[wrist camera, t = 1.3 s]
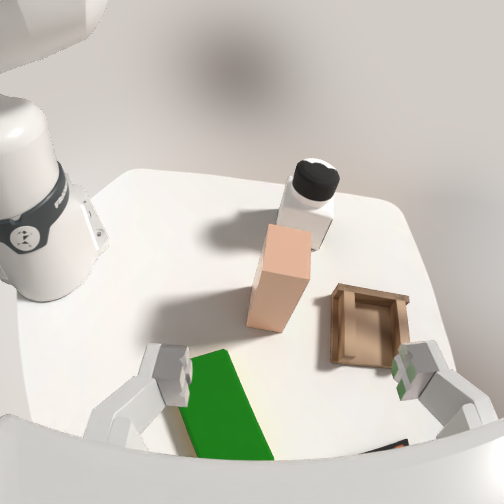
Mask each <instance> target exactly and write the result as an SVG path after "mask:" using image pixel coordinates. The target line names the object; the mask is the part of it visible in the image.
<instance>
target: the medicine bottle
mask: <svg viewBox="0 0 504 504" xmlns="http://www.w3.org/2000/svg"><path fill="white" fill-rule="evenodd" d="M339 180H340V178H339V175H338V172H337V171H336V169H335V168H334V167H332V165H330V164H329V163H327V162H325V161H322V160H319V159H314V158H310V159H304V160H302V161H300V162H299V163H298V164H297V166H296V170H295V173H294V176H288V179H287V182H286V186H285V189H284V193H283V197H282V200H281V204H280V207H279V212H278V217H277V222H276V225H279V226H284V227H289V228H293V229H298V230H303V231H308V232H311V249H315V250H319V248H320V246H321V244H322V242H323V240H324V238H325V235H326V233H327V231H328V229H329V227H330V224H331V222H332V220H333V204H334V193H335V190H336V188H337V185H338V183H339Z"/></svg>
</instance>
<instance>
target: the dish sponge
mask: <svg viewBox="0 0 504 504" xmlns="http://www.w3.org/2000/svg"><path fill="white" fill-rule="evenodd" d="M191 361H192V369H193V370H192V381H191V384H190V385H189V386H188V388H189V399H188V405H187V407H179V406H178V407H179V410H180V412H181V415H182V418H183V421H184V423H185V426H186V429H187V431H188V434H189V436H190V439H191V442H192V444H193V447H194V449H195V452H196V454H197V456H198V458H207V459H222V460H248V461H274V457H273V455H272V453H271V450H270V448H269V446H268V444H267V442H266V440H265V437H264V435H263V433H262V431H261V429H260V426H259V424H258V422H257V420H256V417H255V415H254V413H253V411H252V408H251V406H250V404H249V401H248V399H247V397H246V394H245V392H244V390H243V387H242V385H241V383H240V380H239V378H238V376H237V373H236V371H235V368H234V366H233V363H232V361H231V359H230V356H229V354H228V351H227V350H225V349H221V350H218V351H215V352H211V353H208V354H205V355H201V356H198V357H194V358H191Z"/></svg>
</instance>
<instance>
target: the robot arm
mask: <svg viewBox="0 0 504 504" xmlns="http://www.w3.org/2000/svg"><path fill="white" fill-rule="evenodd" d="M107 3H108V0H0V74H1V73H3V72H6V71H9V70H12V69H14V68H17V67H20V66H23V65H25V64H29V63H32V62H35V61H38V60H41V59H44V58H46V57H48V56H50V55H52V54H54V53H57V52H59V51H61V50H63V49H66V48H68V47H70V46H72V45H74V44H76V43H78V42H81V41H83V40H85V39H87V38H88V37H89V36H90V35H91V34H92V32H93V31H94V30H95V28H96V27H97V25H98V24H99V22H100V20H101V18H102V17H103V14H104V12H105V9H106V6H107ZM99 235H101V236H99ZM110 242H111V241H110V238H109V236H108V234H107V232H106V230H105V228H104V226H103V224H102V223H101V221H100V219H99V217H98V215H97V213H96V211H95V209H94V207H93V205H92V203H91V201H90V199H89V197H88V195H87V193H86V191H85V189H84V187H83V186H82V185H76V184H72V183H71V180H70V178H69V176H68V174H67V173H65V172H64V170H63V168H62V166H61V164H60V163H59V162H58V161H57V159H56V155H55V152H54V148H53V144H52V140H51V136H50V132H49V128H48V123H47V119H46V117H45V115H44V113H43V112H42V111H41V109H39V108H38V107H37V106H36V105H35V104H33V103H32V102H31V101H28V100H26V99H22V98H16V97H8V96H5V95H2V94H0V279H1V281H3V282H5V283H7V284H11V285H13V286H14V287H15V288H16V289H17V290H18V291H19V293H20V294H22V295H23V296H24V297H26V298H28V299H30V300H34V301H52V300H56V299H59V298H61V297H63V296H65V295H67V294H69V293H71V292H72V291H74V290H75V289H76V288H77V287H78V286H80V285H81V284H82V283H83V281H84V280H85V279H86V278H87V276H88V275H89V273H90V272H91V270H92V268H93V266H94V264H95V261H96V260H97V258H98V256H99V255H101V254H102V253H103V252H104V251H105V250H106V249H107V248H108V246H109V245H110ZM398 352H399V354H398V355H397V356H395V357H394V359H393V362H392V368H391V370H392V376H393V379H394V380H395V381H396V382H398V385H397V391H398V395H399V398H400V401H403V400H411V399H418V398H419V399H418V400H419V401H420V402H421V403H422V404H423V405H424V406H425V407H426V408H427V409H428V410H429V411H430V413H431V414H432V415H433V416H434V417H435V418H436V419H437V420H438V421H439V422H440V423H441V424H442V425H443V426H444V428H443V429H442V430H441V431H440V432H439V433H438V434H437V436H436V438H437V439H436V440H432V441H428V442H423V443H419V444H415V445H410V446H405V447H400V448H395V449H390V450H384V451H378V452H372V453H365V454H358V455H350V456H341V457H331V458H319V459H305V460H279V461H248V460H222V459H207V458H196V457H186V456H177V455H169V454H162V453H155V452H148V448H147V446H146V445H145V443H144V441H143V440H142V438H141V437H140V434H141V433H142V432H143V431H144V430H145V429H146V428H147V427H148V426H149V425H150V423H151V422H152V421H153V420H154V419H155V418H156V417H157V416H158V415H159V413H160V412H161V411H162V410H163V409H164V408H165V407H166V406H179V407H187V405H188V399H189V388H188V386H189V385H190V384H191V381H192V370H193V369H192V361H191V359H189V355H190V351H189V347H187V346H177V345H167V344H156V343H149V344H148V345H147V347H146V350H145V353H144V357H143V360H142V363H141V366H140V369H139V373H138V376H133V377H132V378H131V379H130V380H128V381H127V382H126V383H125V384H124V385H122V386H121V387H120V388H119V389H117V390H116V391H115V392H114V393H113V394H111V395H110V396H109V397H108V398H106V399H105V400H104V401H103V402H102V403H100V404H99V405H98V406H97V407H95V408H94V409H93V410H92V412H91V415H90V418H89V421H88V424H87V427H86V430H85V433H84V436H83V438H82V437H79V436H75V435H71V434H68V433H65V432H61V431H58V430H55V429H52V428H48V427H45V426H42V425H39V424H37V423H34V422H31V421H28V420H26V419H23V418H20V417H18V416H15V415H11V414H6V415H4V416H1V417H0V504H504V418H502V419H499V420H498V418H497V415H496V412H495V410H494V408H493V405H492V403H491V401H490V399H489V397H488V396H486V395H485V394H484V393H483V392H482V391H480V390H479V389H478V388H476V387H475V386H474V385H472V384H471V383H470V382H468V381H467V380H466V379H465V378H463V377H462V376H461V375H459V374H458V373H457V372H455V371H454V370H453V369H449V368H448V365H447V363H446V361H445V359H444V357H443V355H442V353H441V351H440V349H439V347H438V345H437V343H436V341H434V340H431V341H420V342H411V343H402V344H401V345H400V346H399V348H398ZM165 405H166V406H165Z"/></svg>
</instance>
